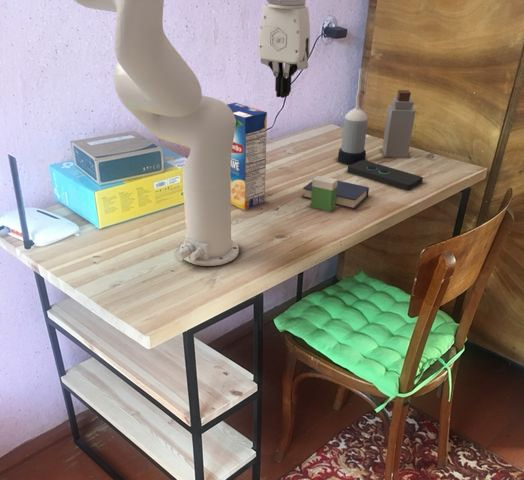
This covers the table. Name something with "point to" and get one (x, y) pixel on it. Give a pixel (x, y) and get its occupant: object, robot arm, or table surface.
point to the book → (344, 194)
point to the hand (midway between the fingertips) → (282, 95)
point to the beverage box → (248, 156)
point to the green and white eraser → (323, 193)
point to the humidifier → (354, 132)
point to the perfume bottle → (399, 125)
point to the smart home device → (385, 174)
